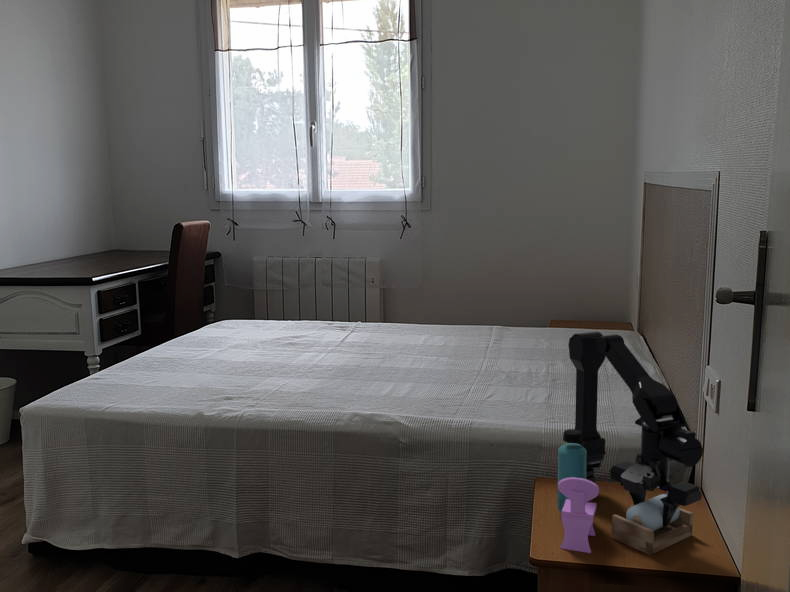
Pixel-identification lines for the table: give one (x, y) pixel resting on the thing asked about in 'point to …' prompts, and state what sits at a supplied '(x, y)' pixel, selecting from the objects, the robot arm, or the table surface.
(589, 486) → the toy chair
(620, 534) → the holder
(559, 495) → the beverage bottle
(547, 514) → the table surface
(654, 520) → the roll
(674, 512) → the robot arm
